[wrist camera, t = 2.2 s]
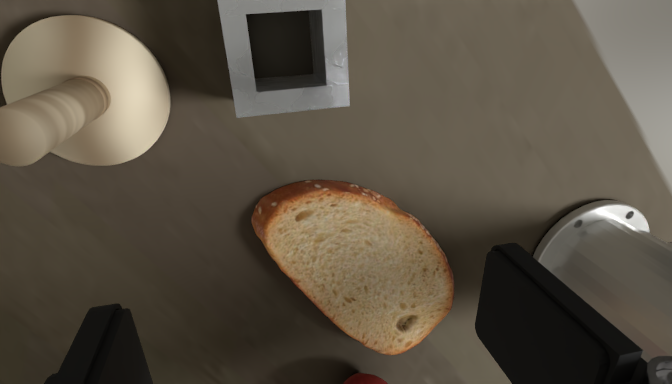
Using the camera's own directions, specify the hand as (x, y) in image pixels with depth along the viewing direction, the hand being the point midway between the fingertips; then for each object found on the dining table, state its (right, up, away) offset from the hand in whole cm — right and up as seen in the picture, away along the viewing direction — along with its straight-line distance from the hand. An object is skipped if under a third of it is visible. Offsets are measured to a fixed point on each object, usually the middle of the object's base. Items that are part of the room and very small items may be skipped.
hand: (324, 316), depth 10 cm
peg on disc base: (-15, +10, +15) cm, 23 cm away
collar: (-3, +13, +16) cm, 21 cm away
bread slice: (+2, -3, +25) cm, 25 cm away
